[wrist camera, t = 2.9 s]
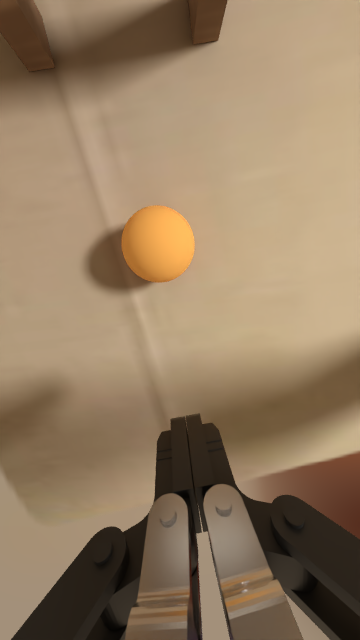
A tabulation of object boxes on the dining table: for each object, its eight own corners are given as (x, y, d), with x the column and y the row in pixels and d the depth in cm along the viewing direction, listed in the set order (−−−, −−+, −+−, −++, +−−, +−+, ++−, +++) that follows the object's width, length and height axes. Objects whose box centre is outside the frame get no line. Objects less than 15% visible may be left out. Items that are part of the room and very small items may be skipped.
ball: (194, 273, 22) (204, 278, 16) (136, 283, 22) (125, 292, 16) (185, 208, 20) (192, 188, 14) (121, 219, 20) (103, 204, 14)
